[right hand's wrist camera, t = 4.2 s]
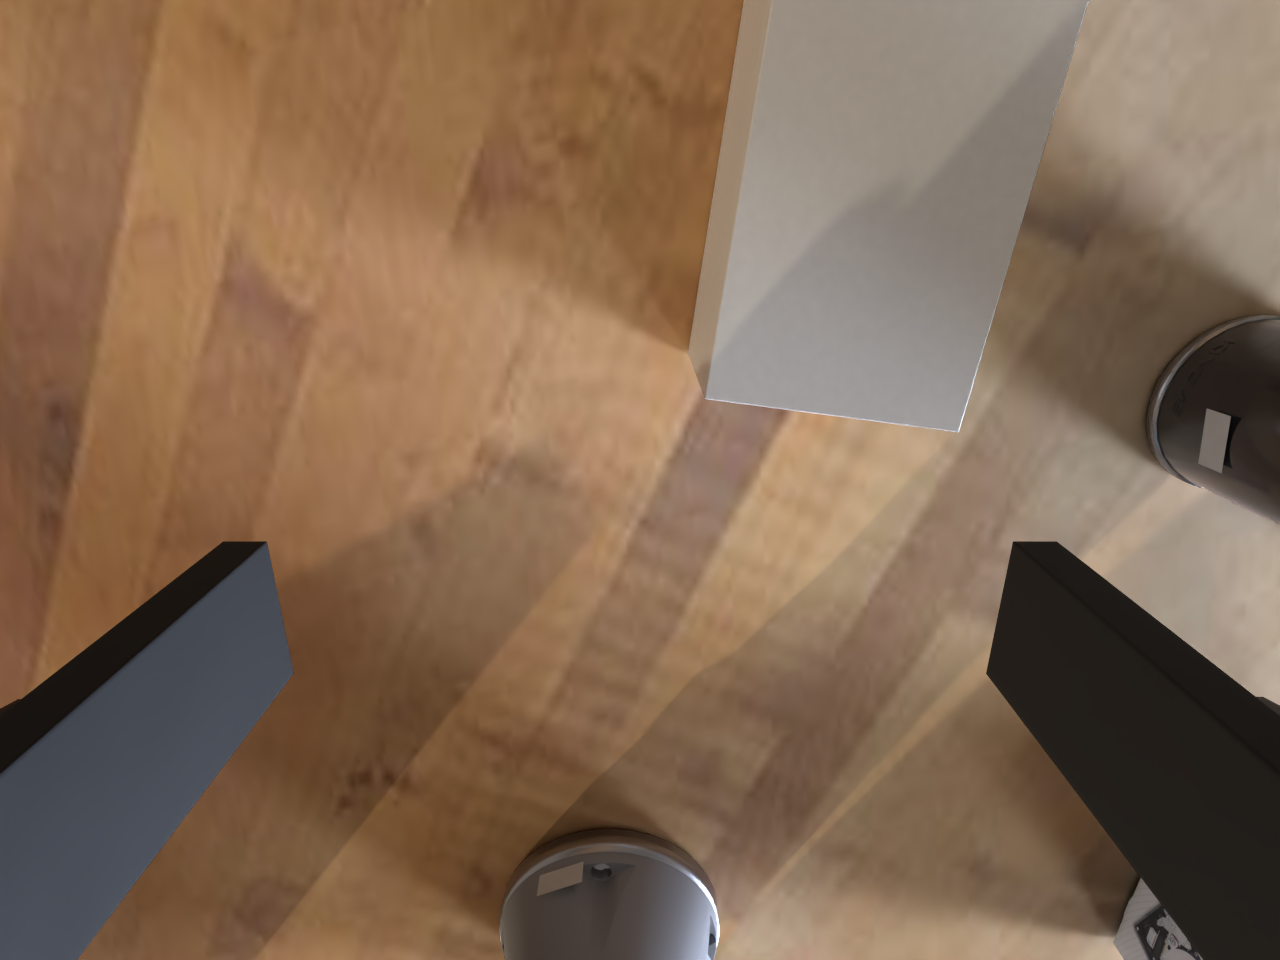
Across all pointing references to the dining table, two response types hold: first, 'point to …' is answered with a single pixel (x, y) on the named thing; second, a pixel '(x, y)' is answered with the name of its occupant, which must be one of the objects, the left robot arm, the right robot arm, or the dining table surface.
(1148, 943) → the hard drive box
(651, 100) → the dining table surface
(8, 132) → the dining table surface
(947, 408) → the cabinet
